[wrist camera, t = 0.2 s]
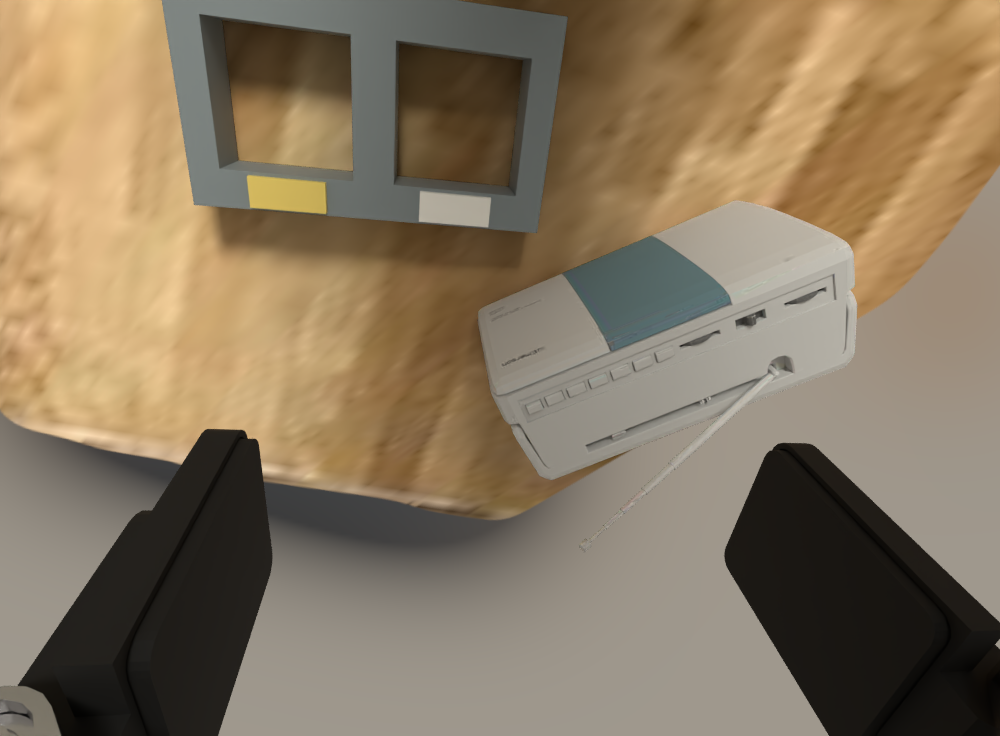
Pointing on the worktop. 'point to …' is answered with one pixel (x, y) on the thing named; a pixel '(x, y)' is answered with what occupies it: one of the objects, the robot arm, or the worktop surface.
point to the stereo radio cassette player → (668, 337)
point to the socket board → (366, 109)
